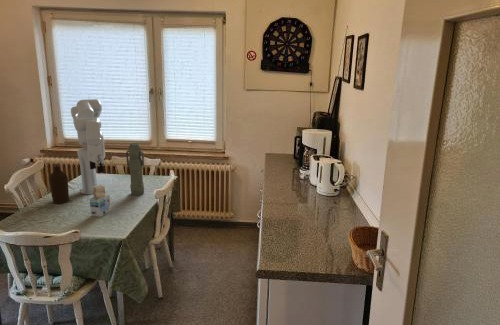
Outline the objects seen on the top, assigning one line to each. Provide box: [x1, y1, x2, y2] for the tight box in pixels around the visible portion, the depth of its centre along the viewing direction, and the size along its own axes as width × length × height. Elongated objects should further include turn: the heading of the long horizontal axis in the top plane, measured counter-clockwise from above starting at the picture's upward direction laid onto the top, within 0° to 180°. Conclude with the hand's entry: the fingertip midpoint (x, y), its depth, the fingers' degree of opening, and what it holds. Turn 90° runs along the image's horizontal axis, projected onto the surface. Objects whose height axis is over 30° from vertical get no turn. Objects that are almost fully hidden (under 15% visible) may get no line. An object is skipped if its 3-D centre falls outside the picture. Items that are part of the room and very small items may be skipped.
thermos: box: [125, 142, 145, 196], centre depth 252 cm, size 9×12×35 cm
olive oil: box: [48, 163, 70, 205], centre depth 237 cm, size 11×11×25 cm
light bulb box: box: [89, 193, 112, 218], centre depth 221 cm, size 11×7×11 cm, turn 168°
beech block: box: [92, 184, 106, 198], centre depth 219 cm, size 5×5×6 cm
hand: (96, 170), depth 216 cm, fingers open, 9 cm apart
